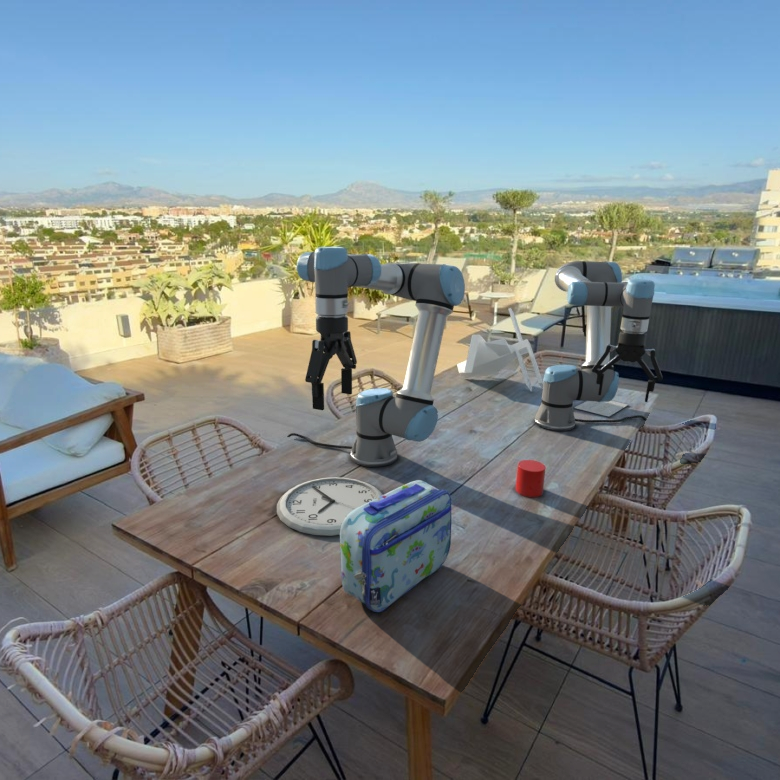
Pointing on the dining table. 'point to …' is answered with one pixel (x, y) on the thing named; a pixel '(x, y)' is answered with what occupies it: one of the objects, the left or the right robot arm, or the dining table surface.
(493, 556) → the dining table surface
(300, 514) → the wall clock
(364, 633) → the dining table surface
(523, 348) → the white plastic object
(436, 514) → the lunch box
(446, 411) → the dining table surface
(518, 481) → the canister
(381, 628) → the dining table surface
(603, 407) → the invitation card
